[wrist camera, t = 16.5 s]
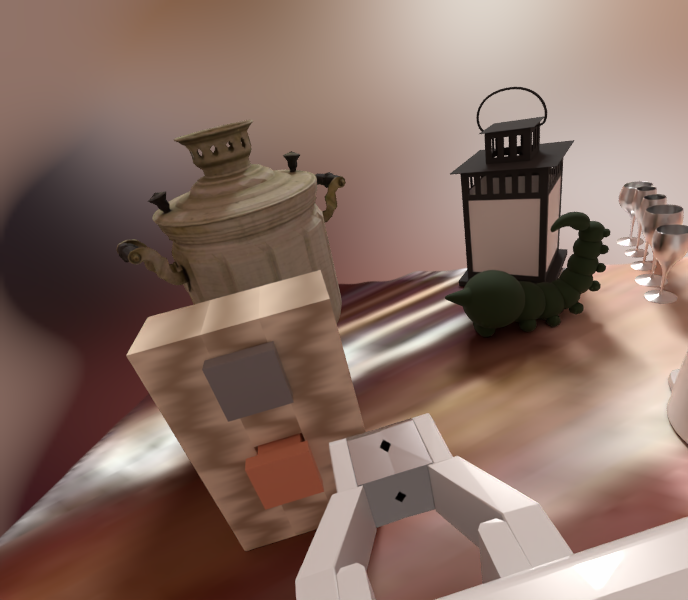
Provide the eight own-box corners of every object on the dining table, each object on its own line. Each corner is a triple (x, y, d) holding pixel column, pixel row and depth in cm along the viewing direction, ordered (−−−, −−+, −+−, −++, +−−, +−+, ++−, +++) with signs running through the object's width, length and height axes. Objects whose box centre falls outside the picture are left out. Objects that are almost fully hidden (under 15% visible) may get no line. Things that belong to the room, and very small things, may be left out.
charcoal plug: (288, 343, 41) (272, 297, 38) (293, 402, 33) (273, 349, 30) (236, 358, 40) (216, 312, 38) (228, 421, 32) (202, 369, 30)
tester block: (373, 463, 48) (320, 269, 36) (385, 507, 43) (329, 298, 30) (247, 501, 48) (147, 317, 35) (245, 551, 42) (126, 355, 30)
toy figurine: (569, 302, 71) (436, 326, 70) (586, 199, 62) (434, 224, 61) (606, 329, 63) (456, 357, 61) (632, 214, 54) (457, 244, 53)
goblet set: (687, 304, 61) (706, 225, 55) (642, 304, 64) (655, 228, 57) (643, 235, 83) (653, 172, 77) (611, 237, 86) (618, 176, 79)
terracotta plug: (313, 420, 44) (300, 383, 42) (324, 491, 36) (308, 450, 33) (265, 434, 44) (249, 398, 41) (265, 509, 36) (245, 470, 33)
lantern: (567, 254, 83) (578, 67, 67) (551, 294, 72) (560, 81, 55) (484, 250, 93) (477, 87, 76) (459, 285, 81) (443, 102, 65)
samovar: (344, 316, 81) (291, 105, 62) (417, 384, 59) (368, 90, 40) (203, 378, 72) (91, 157, 54) (226, 484, 50) (50, 173, 32)
